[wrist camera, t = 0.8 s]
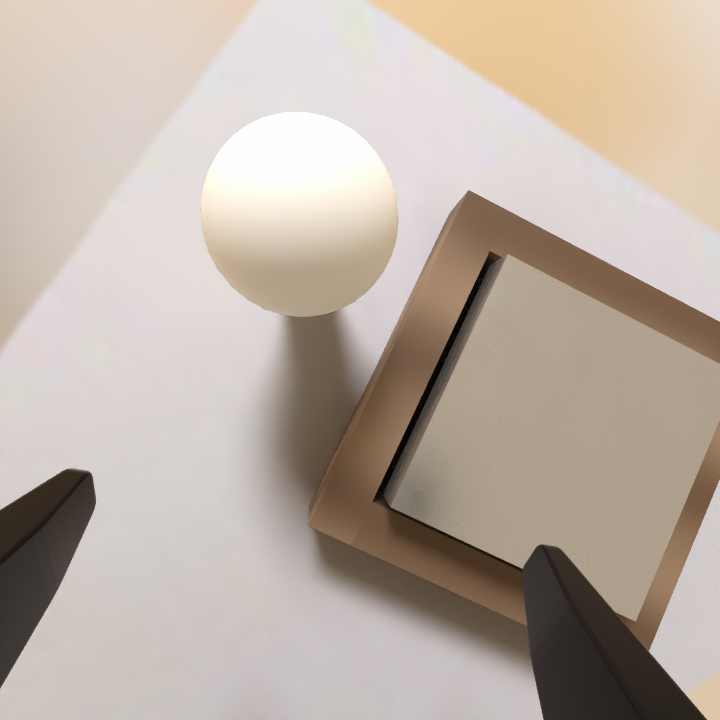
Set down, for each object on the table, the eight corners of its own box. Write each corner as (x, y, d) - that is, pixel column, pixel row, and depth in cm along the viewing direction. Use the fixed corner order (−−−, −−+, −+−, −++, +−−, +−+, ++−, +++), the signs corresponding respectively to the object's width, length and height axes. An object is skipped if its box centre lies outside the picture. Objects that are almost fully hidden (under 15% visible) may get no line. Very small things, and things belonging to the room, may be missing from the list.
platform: (605, 598, 21) (635, 621, 19) (382, 494, 20) (390, 506, 18) (700, 373, 22) (738, 373, 20) (489, 265, 21) (508, 254, 19)
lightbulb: (340, 194, 23) (362, 31, 12) (388, 308, 23) (452, 248, 12) (223, 239, 22) (135, 108, 12) (272, 356, 22) (230, 337, 12)
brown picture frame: (597, 638, 23) (637, 676, 20) (309, 506, 22) (308, 526, 19) (717, 352, 25) (773, 349, 22) (449, 213, 24) (468, 189, 21)
